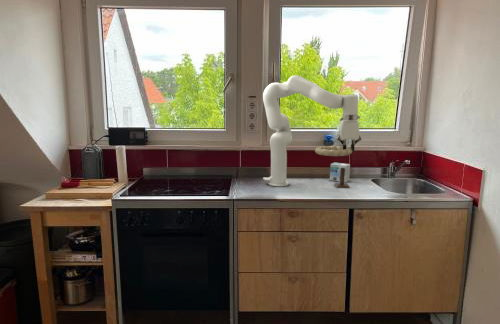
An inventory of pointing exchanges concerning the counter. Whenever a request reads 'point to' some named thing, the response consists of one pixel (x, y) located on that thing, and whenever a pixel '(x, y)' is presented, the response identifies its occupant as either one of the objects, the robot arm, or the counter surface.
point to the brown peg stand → (342, 180)
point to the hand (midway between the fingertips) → (348, 152)
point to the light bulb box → (336, 169)
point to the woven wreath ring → (333, 150)
